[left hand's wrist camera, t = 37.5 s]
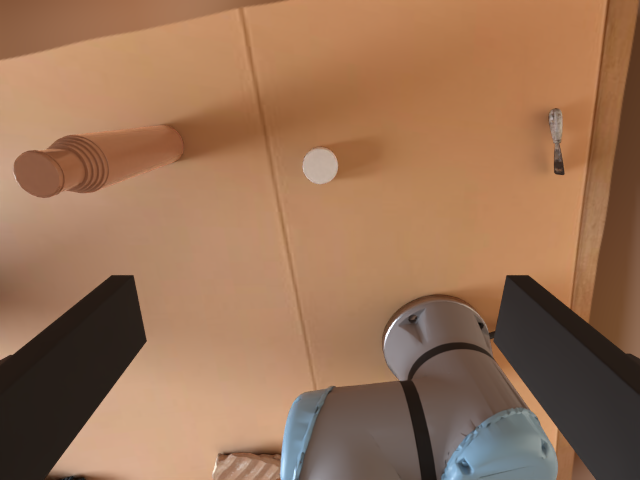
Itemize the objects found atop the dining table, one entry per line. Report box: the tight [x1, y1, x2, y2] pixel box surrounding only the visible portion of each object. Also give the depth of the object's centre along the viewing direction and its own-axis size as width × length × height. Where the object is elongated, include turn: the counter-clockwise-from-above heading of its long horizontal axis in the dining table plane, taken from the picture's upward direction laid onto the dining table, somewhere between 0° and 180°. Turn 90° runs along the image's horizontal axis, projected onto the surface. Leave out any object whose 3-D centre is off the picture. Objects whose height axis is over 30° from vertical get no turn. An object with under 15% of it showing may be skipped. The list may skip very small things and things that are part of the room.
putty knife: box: [549, 108, 564, 175], centre depth 43 cm, size 1×8×2 cm, turn 17°
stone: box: [212, 453, 281, 480], centre depth 62 cm, size 13×12×3 cm
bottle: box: [13, 125, 184, 198], centre depth 34 cm, size 4×4×21 cm
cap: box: [303, 147, 338, 184], centre depth 44 cm, size 4×4×2 cm
